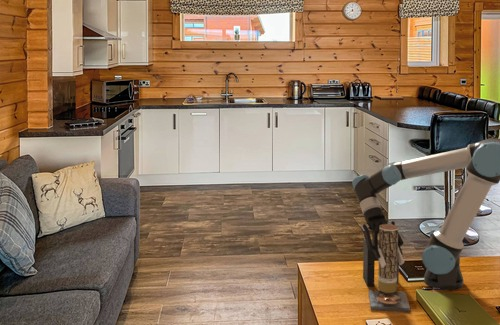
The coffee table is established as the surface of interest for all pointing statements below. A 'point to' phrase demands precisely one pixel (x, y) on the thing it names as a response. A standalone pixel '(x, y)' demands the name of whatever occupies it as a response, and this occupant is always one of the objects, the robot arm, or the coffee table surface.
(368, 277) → the light fixture
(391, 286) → the paper tube
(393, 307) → the plate
